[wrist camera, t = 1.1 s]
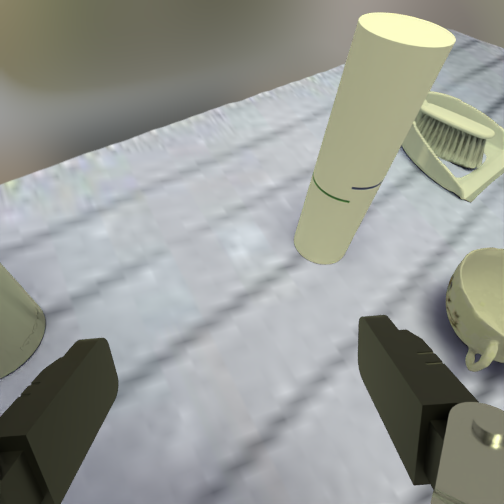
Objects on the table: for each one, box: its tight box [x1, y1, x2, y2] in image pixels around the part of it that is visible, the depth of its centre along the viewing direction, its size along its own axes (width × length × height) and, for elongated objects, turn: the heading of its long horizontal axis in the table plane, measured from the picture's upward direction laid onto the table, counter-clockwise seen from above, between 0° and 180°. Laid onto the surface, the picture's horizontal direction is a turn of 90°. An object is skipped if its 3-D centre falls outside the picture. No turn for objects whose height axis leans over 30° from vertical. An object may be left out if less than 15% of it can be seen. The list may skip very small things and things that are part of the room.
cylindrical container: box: [294, 13, 455, 265], centre depth 33 cm, size 7×7×25 cm
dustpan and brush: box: [402, 91, 504, 203], centre depth 60 cm, size 23×33×10 cm
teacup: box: [446, 248, 504, 372], centre depth 33 cm, size 15×12×8 cm
